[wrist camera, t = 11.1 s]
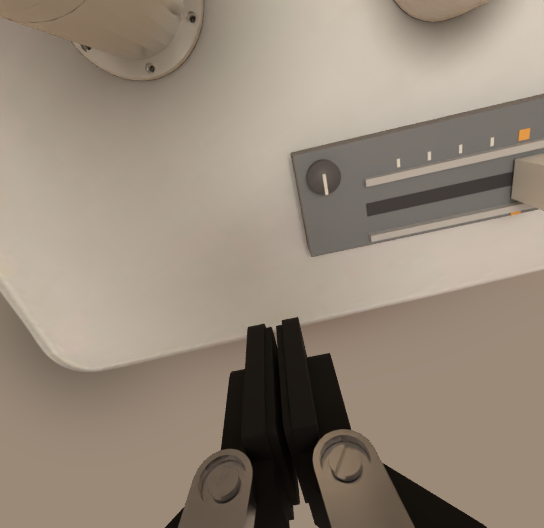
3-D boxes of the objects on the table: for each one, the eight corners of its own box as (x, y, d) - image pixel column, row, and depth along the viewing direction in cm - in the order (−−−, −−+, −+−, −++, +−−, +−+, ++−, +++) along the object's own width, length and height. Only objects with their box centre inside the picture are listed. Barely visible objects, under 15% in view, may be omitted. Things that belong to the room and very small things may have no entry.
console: (290, 152, 34) (294, 158, 31) (614, 77, 32) (657, 73, 28) (308, 248, 39) (313, 262, 35) (591, 188, 37) (625, 196, 33)
